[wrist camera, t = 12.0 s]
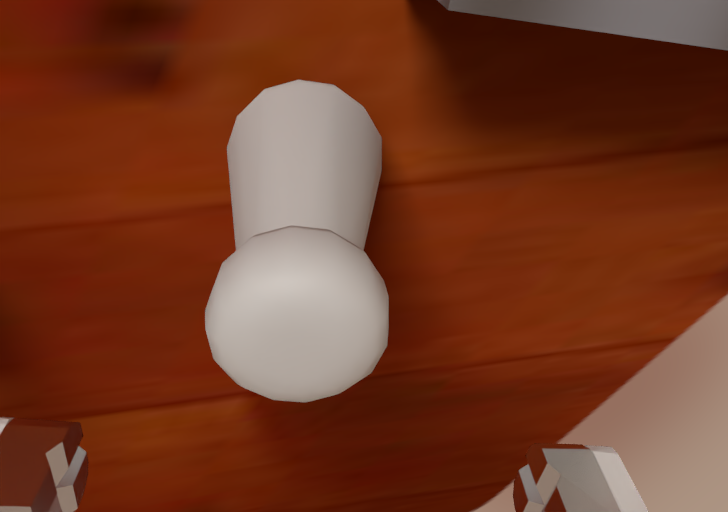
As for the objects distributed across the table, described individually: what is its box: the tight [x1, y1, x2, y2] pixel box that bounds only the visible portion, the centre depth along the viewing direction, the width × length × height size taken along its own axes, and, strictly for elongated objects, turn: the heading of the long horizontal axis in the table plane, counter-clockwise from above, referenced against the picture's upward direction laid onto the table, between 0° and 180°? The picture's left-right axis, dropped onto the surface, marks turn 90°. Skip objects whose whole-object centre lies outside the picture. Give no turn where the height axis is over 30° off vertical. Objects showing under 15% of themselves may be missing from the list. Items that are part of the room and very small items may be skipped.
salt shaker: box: [205, 80, 389, 402], centre depth 18 cm, size 6×6×13 cm
